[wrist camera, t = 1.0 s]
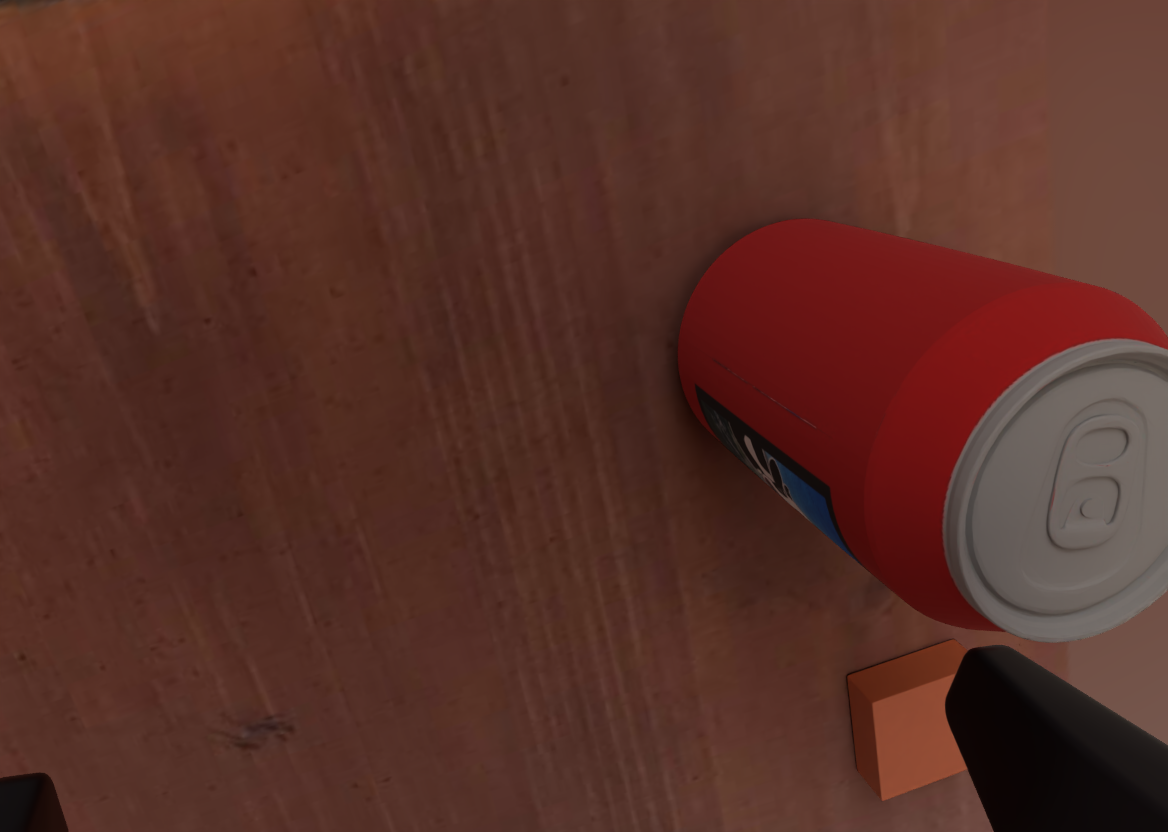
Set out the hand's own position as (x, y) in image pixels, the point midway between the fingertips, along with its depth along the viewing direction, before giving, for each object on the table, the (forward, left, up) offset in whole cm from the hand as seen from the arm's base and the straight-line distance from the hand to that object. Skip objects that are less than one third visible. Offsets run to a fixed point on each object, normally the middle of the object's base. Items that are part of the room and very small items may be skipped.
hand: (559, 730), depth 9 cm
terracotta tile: (-17, -13, -16) cm, 26 cm away
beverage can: (-3, -10, -16) cm, 19 cm away
